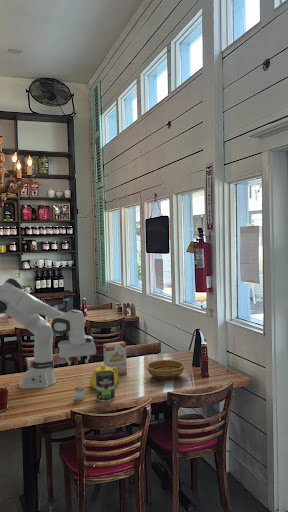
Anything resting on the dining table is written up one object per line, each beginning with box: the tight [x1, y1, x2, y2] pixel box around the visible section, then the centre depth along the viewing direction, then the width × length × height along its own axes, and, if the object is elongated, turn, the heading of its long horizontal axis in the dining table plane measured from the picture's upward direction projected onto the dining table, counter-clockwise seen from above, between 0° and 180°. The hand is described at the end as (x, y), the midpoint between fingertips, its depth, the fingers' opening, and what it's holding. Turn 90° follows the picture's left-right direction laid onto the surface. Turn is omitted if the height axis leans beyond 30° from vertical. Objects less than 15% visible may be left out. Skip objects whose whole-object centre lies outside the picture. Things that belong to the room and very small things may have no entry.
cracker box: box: [102, 341, 128, 377], centre depth 281 cm, size 14×6×21 cm, turn 115°
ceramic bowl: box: [145, 359, 186, 381], centre depth 273 cm, size 30×24×8 cm
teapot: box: [89, 364, 121, 390], centre depth 260 cm, size 20×19×13 cm
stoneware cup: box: [74, 386, 85, 401], centre depth 241 cm, size 5×5×6 cm
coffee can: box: [95, 371, 116, 403], centre depth 240 cm, size 10×10×14 cm
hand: (78, 364), depth 240 cm, fingers open, 8 cm apart
